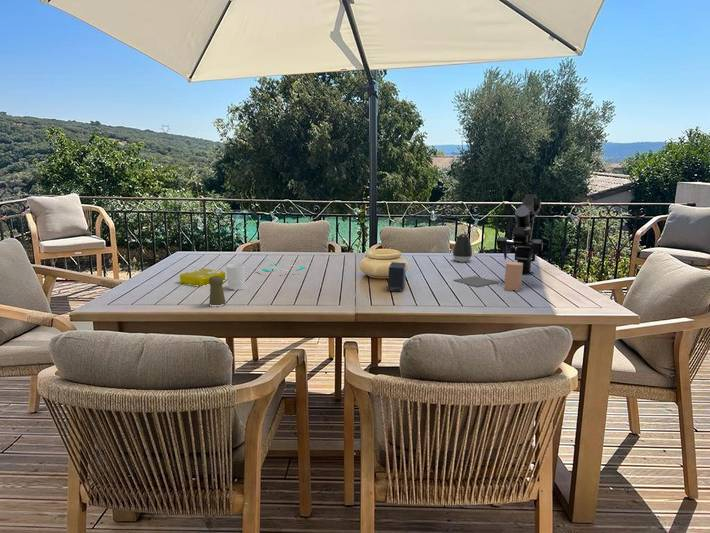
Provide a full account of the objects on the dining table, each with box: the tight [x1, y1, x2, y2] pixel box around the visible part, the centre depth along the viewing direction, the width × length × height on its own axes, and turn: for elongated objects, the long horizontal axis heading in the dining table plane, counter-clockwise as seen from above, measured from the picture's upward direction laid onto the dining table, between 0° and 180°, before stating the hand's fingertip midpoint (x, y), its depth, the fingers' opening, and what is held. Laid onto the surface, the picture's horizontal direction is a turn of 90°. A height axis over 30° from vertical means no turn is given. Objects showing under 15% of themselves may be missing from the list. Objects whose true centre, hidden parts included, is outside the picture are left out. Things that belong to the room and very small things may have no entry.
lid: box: [262, 262, 306, 272], centre depth 233 cm, size 28×28×2 cm
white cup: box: [225, 263, 246, 289], centre depth 196 cm, size 8×8×10 cm
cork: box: [208, 276, 226, 305], centre depth 173 cm, size 6×6×11 cm
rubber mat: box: [452, 275, 500, 288], centre depth 209 cm, size 14×14×1 cm
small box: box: [387, 261, 407, 293], centre depth 196 cm, size 11×6×10 cm, turn 168°
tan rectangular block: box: [503, 261, 523, 292], centre depth 196 cm, size 6×6×11 cm
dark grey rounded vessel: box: [452, 233, 473, 263], centre depth 251 cm, size 10×10×15 cm
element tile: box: [179, 268, 226, 286], centre depth 209 cm, size 15×15×5 cm
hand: (516, 260), depth 198 cm, fingers open, 9 cm apart
